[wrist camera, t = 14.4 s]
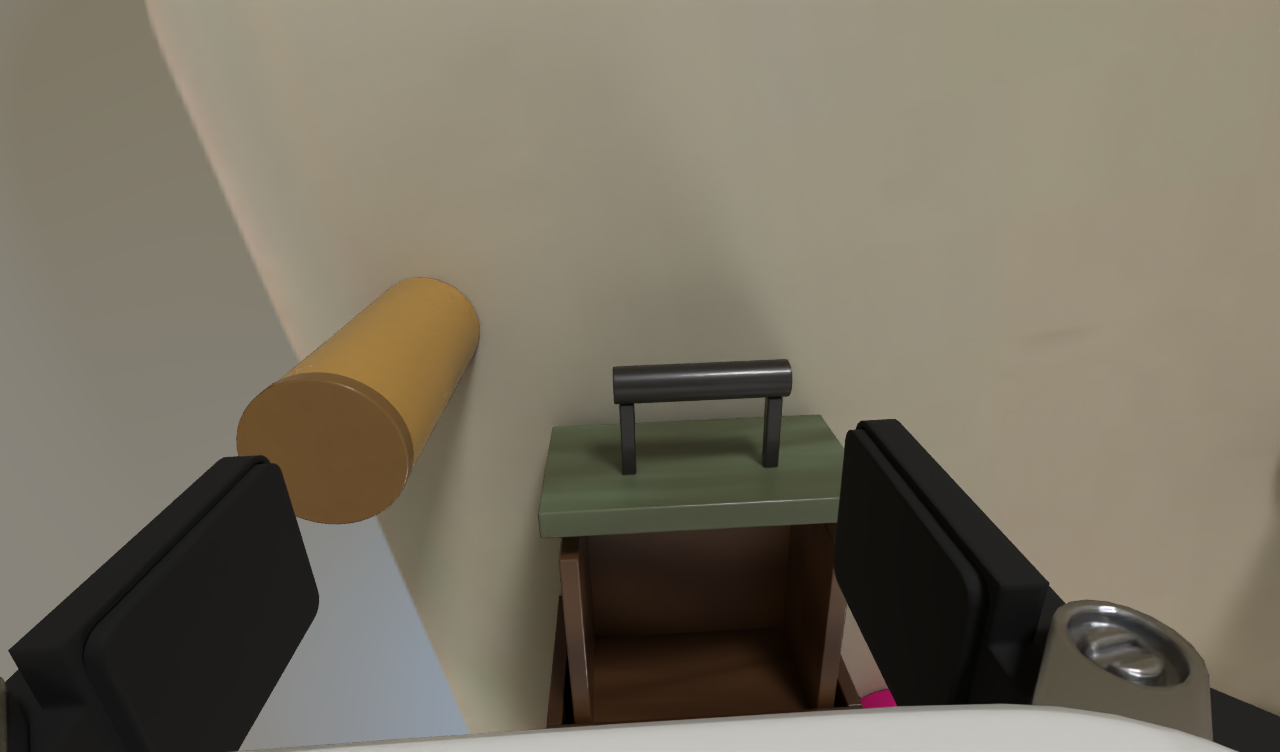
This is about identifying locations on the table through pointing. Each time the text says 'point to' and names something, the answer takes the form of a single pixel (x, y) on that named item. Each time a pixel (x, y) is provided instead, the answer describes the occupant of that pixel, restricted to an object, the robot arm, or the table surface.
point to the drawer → (697, 550)
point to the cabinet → (564, 717)
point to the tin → (364, 402)
